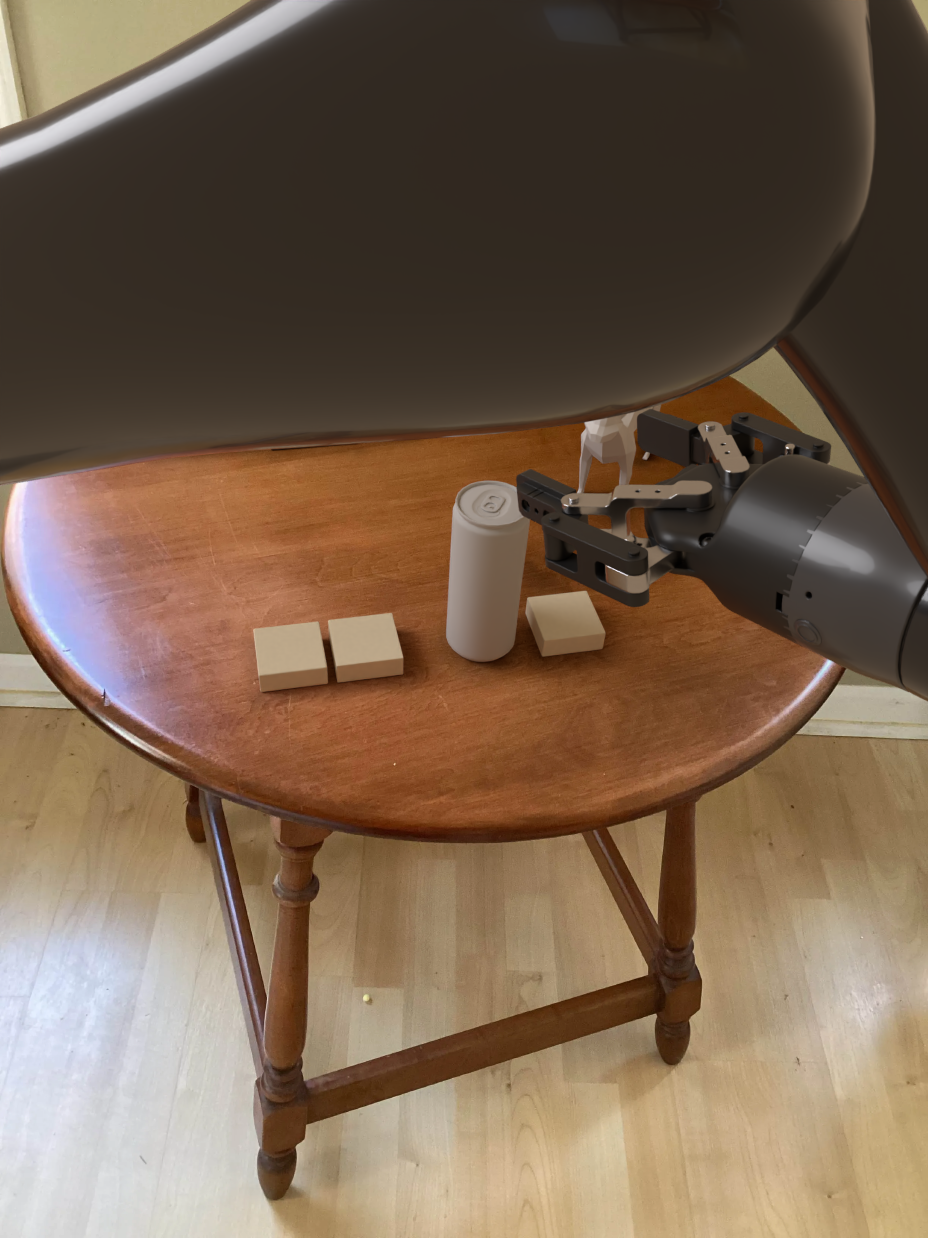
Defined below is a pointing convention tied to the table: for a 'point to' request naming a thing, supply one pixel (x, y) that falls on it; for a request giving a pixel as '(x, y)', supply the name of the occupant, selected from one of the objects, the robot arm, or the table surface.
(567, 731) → the table surface
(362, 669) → the near word
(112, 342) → the robot arm
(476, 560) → the beverage can
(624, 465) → the cat figurine
